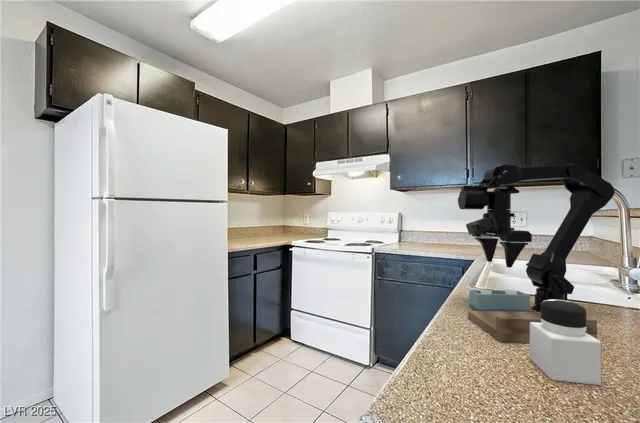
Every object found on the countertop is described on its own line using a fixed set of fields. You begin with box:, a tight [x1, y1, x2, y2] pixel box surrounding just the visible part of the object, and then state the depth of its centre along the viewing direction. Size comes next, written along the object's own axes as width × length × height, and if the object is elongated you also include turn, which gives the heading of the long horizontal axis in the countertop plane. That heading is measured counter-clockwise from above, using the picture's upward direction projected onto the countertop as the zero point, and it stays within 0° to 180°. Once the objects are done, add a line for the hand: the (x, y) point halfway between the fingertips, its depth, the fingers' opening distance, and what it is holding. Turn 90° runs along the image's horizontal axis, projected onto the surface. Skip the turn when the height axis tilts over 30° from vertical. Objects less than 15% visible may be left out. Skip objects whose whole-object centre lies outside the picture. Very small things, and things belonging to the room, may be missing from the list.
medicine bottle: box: [529, 299, 602, 386], centre depth 50 cm, size 7×7×12 cm
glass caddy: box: [468, 288, 531, 312], centre depth 82 cm, size 14×5×6 cm, turn 89°
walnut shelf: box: [467, 310, 598, 344], centre depth 68 cm, size 20×14×5 cm
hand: (498, 264), depth 82 cm, fingers open, 9 cm apart
